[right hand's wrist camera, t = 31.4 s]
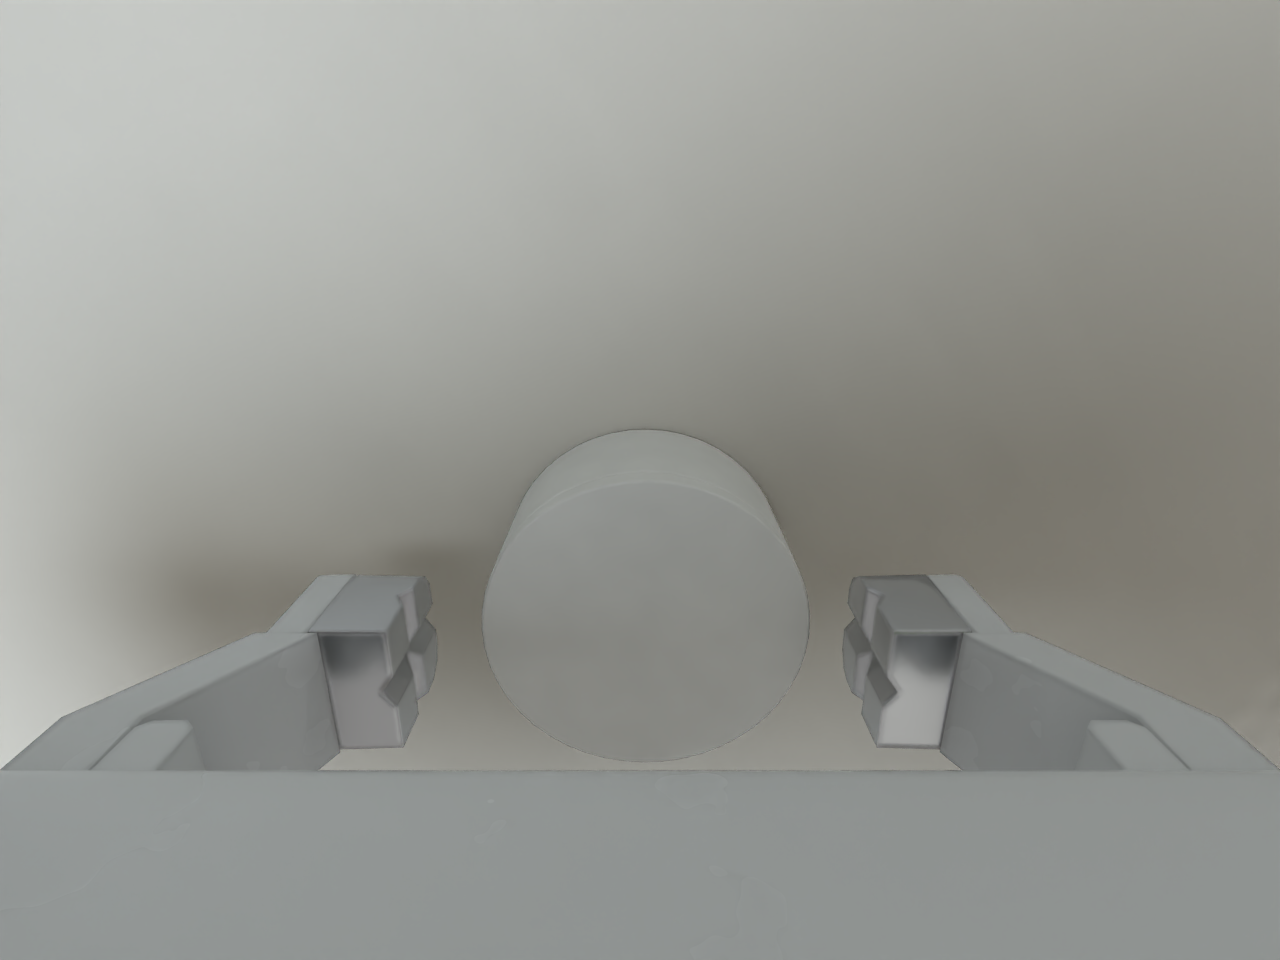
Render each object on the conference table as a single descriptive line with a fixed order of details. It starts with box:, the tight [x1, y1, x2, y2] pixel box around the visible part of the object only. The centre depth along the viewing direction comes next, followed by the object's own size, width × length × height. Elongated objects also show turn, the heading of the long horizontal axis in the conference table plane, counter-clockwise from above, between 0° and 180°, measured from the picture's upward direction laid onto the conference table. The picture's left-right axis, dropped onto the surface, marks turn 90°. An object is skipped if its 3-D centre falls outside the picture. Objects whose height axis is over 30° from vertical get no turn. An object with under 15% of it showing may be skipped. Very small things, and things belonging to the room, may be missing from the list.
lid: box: [482, 429, 810, 762], centre depth 11 cm, size 5×5×2 cm
